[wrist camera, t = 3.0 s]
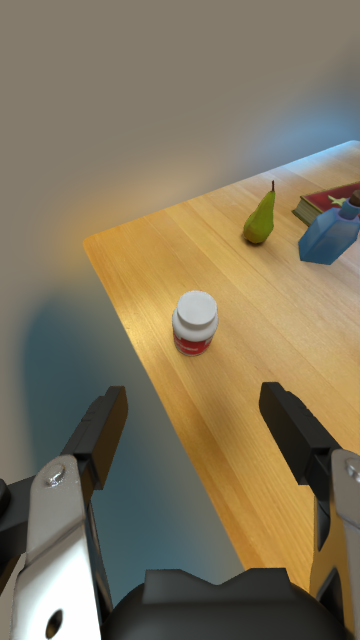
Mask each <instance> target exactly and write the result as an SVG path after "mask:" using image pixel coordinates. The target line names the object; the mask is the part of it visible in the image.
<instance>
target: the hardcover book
mask: <svg viewBox="0 0 360 640" xmlns="http://www.w3.org/2000/svg"><path fill="white" fill-rule="evenodd" d="M355 190H360V181H359V182H355V183H351V184H347V185H343V186H339V187H335V188H330V189H326V190H322V191H318V192H314V193H310V194H306V195H302V196H300V198H301V201H300V202H299V204H298V206H297V207H296V209H295V210H292V213H294V214H295V215H296V216H297V217H298V218H299V219H301V220H302V221H303V222H304V223H305V224H306V225H307V226H309V227H310V225H311V224H312V222H313V221H314V220H315V218H316V217H317V216H318V215H320V214H322V213H324V212H326V211H328V210H329V209H331V208H342V204H343V203H344V202H345V201H346V199H347V198H350V197H351V195H352V194H353V192H354V191H355ZM358 217H359V220H360V214H358Z"/></svg>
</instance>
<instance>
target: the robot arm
mask: <svg viewBox="0 0 360 640" xmlns="http://www.w3.org/2000/svg"><path fill="white" fill-rule="evenodd" d="M259 409H260V413H261V415H262V417H263V419H264V421H265V422H266V424H267V426H268V428H269V430H270V432H271V434H272V436H273V438H274V439H275V441H276V443H277V445H278V447H279V449H280V451H281V453H282V455H283V456H284V458H285V460H286V462H287V464H288V466H289V468H290V470H291V472H292V473H293V475H294V477H295V479H296V481H297V483H298V485H309V486H310V488H311V489H312V491H313V493H314V495H315V496H314V553H313V563H312V568H311V574H310V586H309V593H308V592H306V591H305V590H304V589H302V588H300V587H299V586H297V585H295V584H294V583H291V582H290V580H289V577H288V574H287V571H286V568H250V569H249V570H247V571H245V572H243V573H241V574H239V575H237V576H235V577H234V578H232V579H230V580H228V581H226V582H224V583H222V584H221V585H213V584H211V583H209V582H207V581H205V580H203V579H200V578H198V577H196V576H194V575H192V574H189V573H187V572H185V571H182V570H180V569H164V570H146V574H145V582H144V583H142V584H140V585H138V586H137V587H136V588H134V589H133V590H132V591H130V592H129V593H128V594H127V595H126V596H125V597H124V598H123V599H122V600H121V601H120V602H119V603H118V604H117V606H116V607H115V608H114V609H113V604H112V599H111V594H110V589H109V585H108V580H107V576H106V572H105V568H104V564H103V560H102V556H101V551H100V545H99V540H98V535H97V530H96V524H95V519H94V514H93V508H92V503H91V500H90V499H91V496H92V494H93V491H94V490H103V487H104V484H105V481H106V478H107V475H108V472H109V469H110V466H111V463H112V460H113V457H114V454H115V451H116V449H117V446H118V443H119V440H120V437H121V434H122V431H123V428H124V425H125V422H126V419H127V415H128V403H127V397H126V391H125V387H124V386H110V387H109V389H108V390H107V392H106V394H105V396H99V397H98V398H97V399H96V400H95V401H94V402H93V403H92V404H91V405H90V407H89V408H88V410H87V412H86V414H85V415H84V417H83V418H82V420H81V422H80V423H79V425H78V426H77V428H76V430H75V431H74V433H73V434H72V436H71V438H70V439H69V441H68V443H67V444H66V446H65V447H64V449H63V451H62V452H61V454H60V455H59V456H58V457H57V458H54V459H53V460H51V461H50V462H49V463H47V464H46V465H45V466H44V467H43V468H42V469H41V470H40V471H39V473H38V474H37V475H35V476H32V477H29V478H27V479H24V480H21V481H18V482H15V483H13V484H10V485H6V483H5V482H4V480H2V479H0V595H1V593H2V592H3V590H4V588H5V586H6V584H7V582H8V580H9V578H10V576H11V573H12V572H13V570H14V568H15V566H16V564H17V562H18V560H19V558H20V556H21V554H23V553H25V552H26V561H25V565H24V568H23V569H22V570H21V571H20V572H19V574H18V576H17V579H16V583H15V588H14V596H13V605H12V615H11V625H10V636H9V640H360V456H359V455H357V454H355V453H353V452H351V451H348V450H344V449H343V448H342V447H341V446H340V445H339V444H338V443H337V442H336V440H335V439H334V438H333V437H332V436H331V435H330V433H329V432H328V431H327V430H326V429H325V428H324V427H323V425H322V424H321V423H320V422H319V421H318V420H317V418H316V417H315V416H313V414H312V413H311V412H310V410H309V409H307V407H306V406H305V405H304V403H303V402H302V401H301V400H300V399H299V398H298V397H296V396H295V395H294V394H292V393H291V392H289V391H285V390H284V388H283V387H282V386H281V385H280V384H279V383H278V382H263V383H262V386H261V392H260V398H259Z"/></svg>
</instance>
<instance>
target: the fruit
mask: <svg viewBox="0 0 360 640" xmlns="http://www.w3.org/2000/svg"><path fill="white" fill-rule="evenodd" d="M274 199H275V191H274V180H273V181H272V191H270V192H268V193H267V195H266V196H265V197H264V198H263V200H262V201H261V202H260V204H259V205H258V207H257V209H256V210H255V211H254V212H253V213H252V214H251V215H250V217H249V218H248V219H247V221H246V222H245V225H244V237H245V238H247V239H248V240H249V241H251V242H253V243H258V242H263V241H264V240H266V239H267V237H268V236H269V234H270V233H271V231H272V230H273V227H274V225H273V207H274Z"/></svg>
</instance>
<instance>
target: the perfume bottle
mask: <svg viewBox="0 0 360 640" xmlns="http://www.w3.org/2000/svg"><path fill="white" fill-rule="evenodd" d="M358 214H360V190H355V191H354V192H353V194H352V195H351V197H350V198H347V199H346V201H345V202H344V203H343V204H342V208H331V209H329V210H328V211H326V212H324V213H322V214H320V215H318V216H317V217H316V218H315V220H314V221H313V222H312V224H311V225H310V227H309V228H308V229H307V231H306V232H305V234H304V235H303V236H302V238H301V239H300V241H299V242H298V243H299V252H300V260H301V261H308V262H314V263H321V264H327V265H331V264H332V263H333V262H334V261H335V260H336V259H337V258H338V257H339V256H340V255H341V254H342V253H343V252H344V251H345V250H346V249H347V248H349V247H350V246H351V245H352V244H353V243H354V242H355V241H356V239H357V235H358V232H359V228H360V220H359V217H358Z"/></svg>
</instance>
